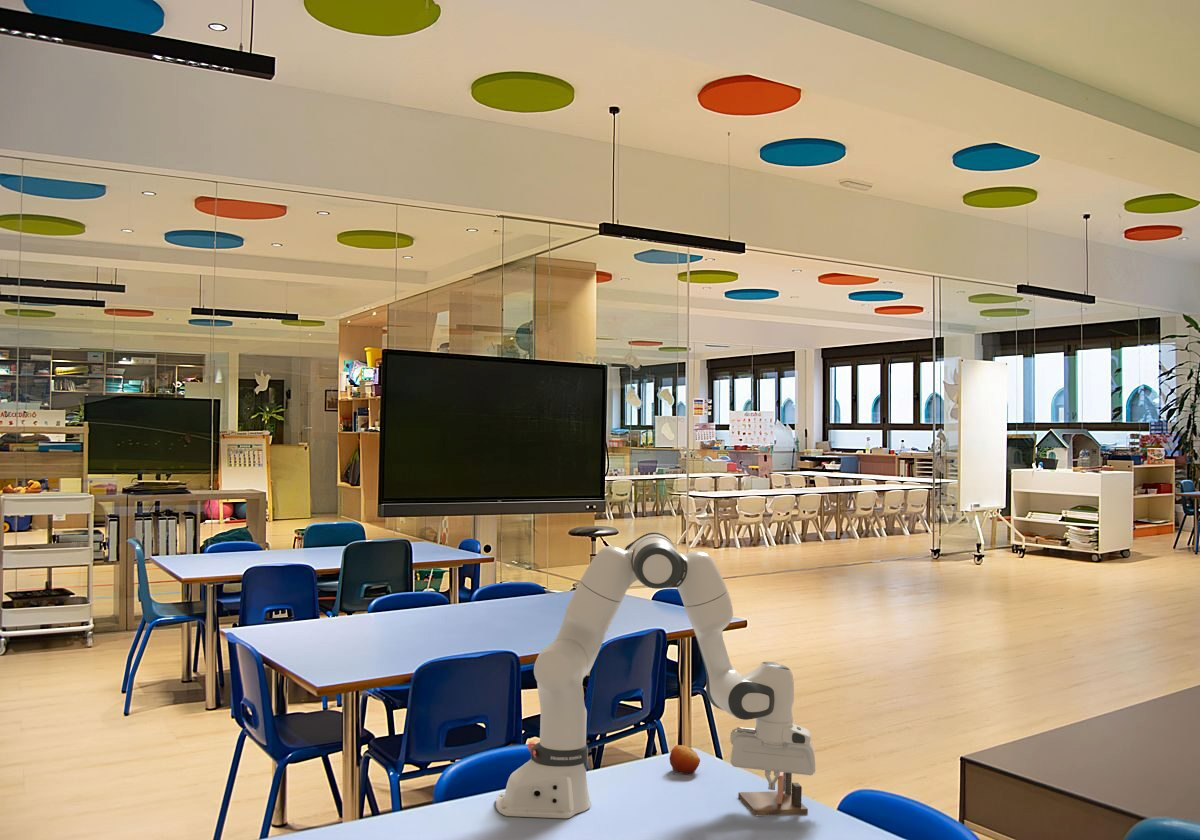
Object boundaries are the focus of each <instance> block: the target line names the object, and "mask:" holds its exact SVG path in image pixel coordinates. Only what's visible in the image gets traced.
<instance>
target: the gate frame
mask: <svg viewBox="0 0 1200 840" xmlns="http://www.w3.org/2000/svg"><path fill="white" fill-rule="evenodd" d="M792 774H793V773H785V791H784V792H783V798H782V804H779V803H777V798H778V790H777V791H775V790H772V791H744V792H742V791H740V792H738V799H739V798H740V799H741V800H742V801H741V800H740V799H739V800H740V801H741V802H742V803H743V804H744V805H745V806H746V807H747V809H750V810H749V811H750V812H751V813H752V814H753V815H754V816H755V815H761V816H785V815H787V816H788V815H808V814H809V813H808V812H809V811H808V810H809V808H807V806H806V805H804V804H803V802H802V794H803V793H802V791H803V790H802V789H803V787H802V785H801V784H800V783H799V782H792V776H793V775H792Z"/></svg>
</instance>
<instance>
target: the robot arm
mask: <svg viewBox="0 0 1200 840" xmlns="http://www.w3.org/2000/svg"><path fill="white" fill-rule="evenodd" d="M636 581H639V582H640V583H641V585H644V586H645V587H647V588H650V589H657V590H659V589H660V590H661V589H671V588H674V589H677V591H678V593H679V595H680V598H681V601H682V603H683V607H684V610H685V612H686V615H687V618H688V620H689V622H690V624H691V627H692V629H693V632H694V634H695V639H696V641H697V644H698V649H699V652H700V654H701V659H702V662H703V666H704V669H705V673H706V675H705V676H706V677H705V679H706V681H705V691H706V695H707V699H708V701H709V702H710V703H711V704H712V705H713V706H714V707H715V708H717V709H719V710H722V711H724V712H726V713H727V714H729V715H730V716H733V717H734V718H737V719H739V720H746V721H747V720H754V719H755V728H752V727H751V728H749V727H741V726H738V727H736V728H734V729H732V730H731V732H730V739H729V741H730V743H731V745H732V747H731V753H730V754H731V755H730V764H731V765H732V767H734V768H740V769H743V768H744V769H751V770H758V771H764V776H765V779H766V780H767V782H768V786H767V787H768V788H767V789H768V790H772V791H775V790H776V782H778V777H780V772H785V773H792V774H793V775H805V776H813V775H814V774H815V773H816V754H815V748H814V745H813V742H811V741H812V733H811V731H810V729H807V728H805V727H802V726H800V725H798V724H796V723H794V717H793V712H792V711H793V705H794V700H795V685H794V682H795V681H794V676H793V672H792V670H791V669H790V667H787V666H786V665H784V664H779V663H777V662H773V661H762V662H761V663H760V664H759V665H758V666H757V667H756V668H755V669H753V670H751V671H749V672H748V673H745V674H741V673H740V672H738V670H737V669H736V668H734V666H733V665H732V663H731V661H730V657H729V654H728V651H727V648H726V644H725V641H724V637H723V630H725V629H726V628H727V627H728V626H729V625H730V624H731V621H732V619H733V617H734V610H733V605H732V600H731V596H730V594H729V591H728V588H727V586H726V583H725V581H724V579H723V576H722V574H721V572H720V570H719V568H718V566H717V564H716V563H715V561H714V559H713V558H712V557H711V555H710V554H708V553H706V552H704V551H699V550H698V551H691V552H687V553H681V552H679V551H678V550H677V548H676V547H675V545H674V543H673V542H672V540H671V539H670V538H669V537H668V536H666V535H665V534H663V533H660V532H648V533H646V534H643V535H641V536H639V537H638V538H637V539H635V540H634V541H633V542H630V543H629V544H627V545H626V546H625V547H624V548H621V547H619V546H614V545H608V546H604V547H602V548H600V550H599V551H598V552H597V553H596V555H595V556H594V557H593V558H592V560H591V561H590V562H589V564H588V566H587V567H586V569H585V571H584V573H583V575H582V577H581V578H580V581H579V582H578V583H577V586H576V589H575V590H574V593H573V594H572V597H571V599H570V601H569V603H568V604H567V606H566V609H565V614H564V617H563V620H562V624H561V625H560V628H559V631H558V633H557V635H556V637H555V639H554V640H553V641H552V642H551V643H550V644H548V645H547V646H545V647H544V648H543V649H541V651H540V652H539V653H538V656H537V657H536V660H535V662H534V665H533V675H534V679H535V680H536V685H537V692H538V698H539V699H538V700H539V708H540V720H539V721H540V724H539V725H540V726H539V728H540V729H539V742H538V743H536V742H535V741H529V742H528V744H527V749H528V751H529V752H530V759H528V761H527V762H525V763H524V764H523V765H521V766H520V767H518V768H517V769H516V770H514V771H513V772H512V773H511V774H509V775H510V776H509V777H508V779H507V782H506V786H505V791H504V792H500V793H499V794H498V795H497V797H496V799H495V807H496V808H495V809H497V811H498V812H499V813H500V814H501V815H504V816H506V817H522V818H525V817H526V818H545V819H546V818H549V819H551V818H552V819H570V818H571V817H573V816H575V815H576V814H578V813H583V812H585V811H587V810H588V809H589V808H590V807H591V806H592V802H591V800H590V799H591V798H590V795H589V789H588V788H589V787H588V781H587V780H588V779H587V768H588V763H589V762H588V761H589V748H588V744H587V722H588V721H587V717H588V711H587V708H586V706H585V698H584V691H583V689H584V688H583V682H584V677H586V676H587V675H588V674H589V673H590V672H591V670H592V668H593V666H594V664H595V661H596V659H597V657H598V654H599V653H600V650H601V648H602V645H603V643H604V640H605V636H606V635H607V632H608V630H609V628H610V625H611V624H612V622H613V619H614V617H616V616H615V615H616V613H617V611H618V610H619V608H620V605H621V604H622V601H623V600H624V597H625V596H626V592H627V591H628V590H629V588H630V587H631V586H632V584H633V583H634V582H636ZM772 772H773V776H774V777H773V778H771V774H772Z"/></svg>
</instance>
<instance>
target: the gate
mask: <svg viewBox="0 0 1200 840" xmlns="http://www.w3.org/2000/svg"><path fill="white" fill-rule="evenodd" d="M777 791H778V798H777V803H779V804H782V798H783V792H784V791H785V772H780V777H778V780H777Z"/></svg>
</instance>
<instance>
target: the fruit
mask: <svg viewBox="0 0 1200 840" xmlns="http://www.w3.org/2000/svg"><path fill="white" fill-rule="evenodd" d="M700 762H701V759H700V757H699V754H698V753H697V752H696V751H695V750H694V749H692V748H691V747H689V746H687V745H681V744H680V745H679V744H677V745H675V746H674V747H673V748H672V749H671V751H670V755H669V764H670V766H671V768H672V769H671V770H673V773H672V775H674V774H676V773H679V774H684V775H690V774H691V775H692V774H694V772H696V771H697V769H698V767H699V766H700Z"/></svg>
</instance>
